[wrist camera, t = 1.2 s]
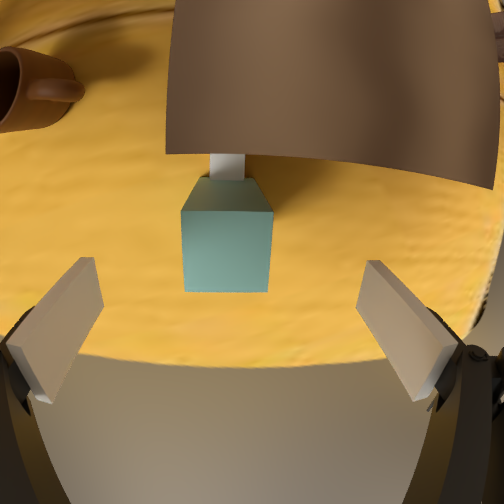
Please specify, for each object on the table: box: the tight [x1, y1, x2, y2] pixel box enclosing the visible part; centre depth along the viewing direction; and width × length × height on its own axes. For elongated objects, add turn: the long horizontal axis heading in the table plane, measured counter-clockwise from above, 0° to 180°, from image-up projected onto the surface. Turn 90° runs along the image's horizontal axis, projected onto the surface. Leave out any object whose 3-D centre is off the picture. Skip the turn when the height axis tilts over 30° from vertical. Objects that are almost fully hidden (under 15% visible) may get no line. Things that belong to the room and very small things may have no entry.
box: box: [491, 11, 504, 62], centre depth 15 cm, size 6×4×12 cm
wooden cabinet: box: [166, 0, 500, 190], centre depth 14 cm, size 15×18×18 cm
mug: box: [0, 47, 85, 133], centre depth 17 cm, size 12×8×9 cm, turn 73°
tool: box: [181, 154, 274, 292], centre depth 19 cm, size 5×18×12 cm, turn 177°
